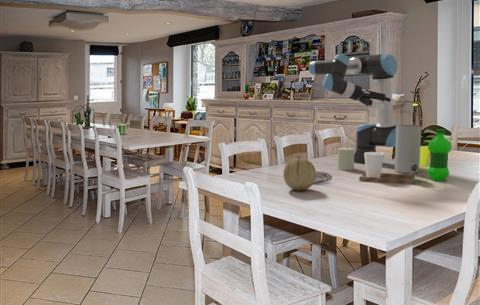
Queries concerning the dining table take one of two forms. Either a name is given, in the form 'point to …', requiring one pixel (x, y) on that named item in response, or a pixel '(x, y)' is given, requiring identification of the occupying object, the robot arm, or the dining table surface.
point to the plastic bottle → (439, 156)
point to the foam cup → (373, 163)
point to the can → (345, 158)
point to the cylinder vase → (407, 148)
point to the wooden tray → (391, 176)
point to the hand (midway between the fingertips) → (389, 105)
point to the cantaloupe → (299, 174)
